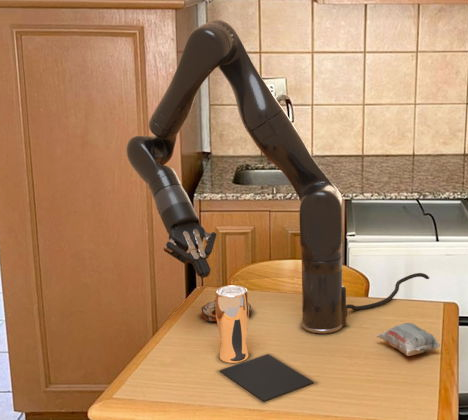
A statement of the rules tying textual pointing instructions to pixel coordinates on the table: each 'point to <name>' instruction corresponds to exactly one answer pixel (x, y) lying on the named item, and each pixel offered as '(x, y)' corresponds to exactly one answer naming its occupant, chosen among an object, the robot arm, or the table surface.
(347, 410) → the table surface
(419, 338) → the packaged food
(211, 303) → the floral plate with food
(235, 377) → the mat
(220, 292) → the copper cup
